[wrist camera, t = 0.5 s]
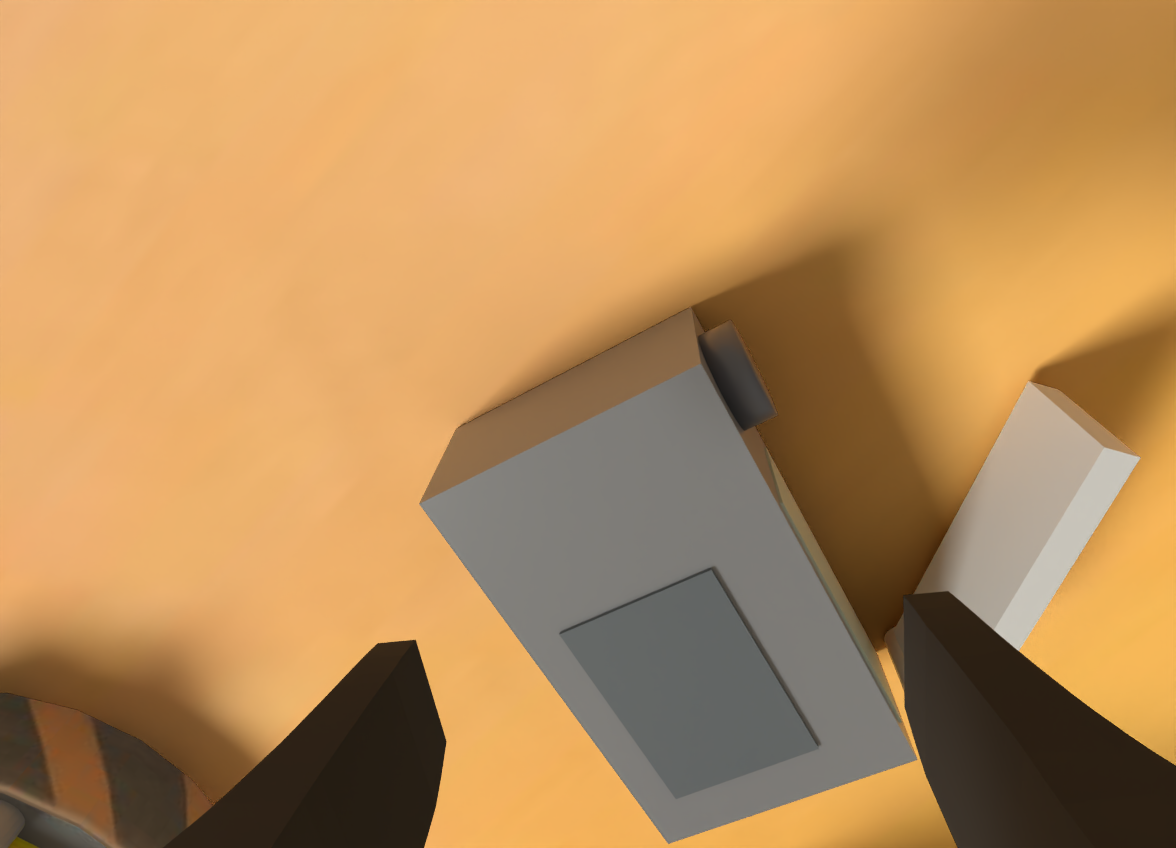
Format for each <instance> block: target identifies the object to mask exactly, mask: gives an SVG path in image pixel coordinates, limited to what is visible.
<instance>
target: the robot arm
mask: <svg viewBox="0 0 1176 848" xmlns="http://www.w3.org/2000/svg"><path fill="white" fill-rule="evenodd" d="M903 603H904V695H905V710H906V713H907V716H908V720H909V723H910V726H911V730H912V733H913V736H914V740H915V743H916V746H917V749H918V753H919V756H920V759H921V762H922V765H923V768H924V771H925V774H926V777H927V779H928V781H929V784H930V786H931V788H932V791H933V793H934V795H935V798H936V800H937V802H938V804H939V807H940V809H941V811H942V814H943V816H944V818H945V820H946V823H947V825H948V827H949V830H950V832H951V834H952V836H953V839H954V841H955V843H956V845H957V848H1176V766H1175V765H1174V764H1172V763H1171V762H1169V761H1167V760H1166V759H1164V758H1163V757H1161V756H1159V755H1158V754H1156V753H1155V752H1153V751H1152V750H1150V749H1149V748H1147V747H1146V746H1144V745H1143V744H1141V743H1140V742H1138V741H1137V740H1135V739H1134V738H1132V737H1131V736H1129V735H1128V734H1126V733H1125V732H1124V731H1122V730H1121V729H1119V728H1118V727H1117V726H1115V725H1114V724H1112V723H1111V722H1109V721H1108V720H1107V719H1105V718H1104V717H1102V716H1101V715H1100V714H1098V713H1097V712H1095V711H1094V710H1093V709H1091V708H1090V707H1089V706H1087V705H1086V704H1085V703H1083V702H1082V701H1081V700H1079V699H1078V698H1077V697H1075V696H1074V695H1073V694H1071V693H1070V692H1069V691H1068V690H1066V689H1065V688H1064V687H1063V686H1061V685H1060V684H1059V683H1058V682H1056V681H1055V680H1054V679H1052V678H1051V677H1050V676H1049V675H1047V674H1046V673H1045V672H1044V671H1042V670H1041V669H1040V668H1039V667H1037V666H1036V665H1035V664H1034V663H1032V662H1031V661H1030V660H1029V659H1028V658H1026V657H1025V656H1024V655H1023V654H1022V653H1020V652H1019V651H1018V650H1017V649H1016V648H1014V647H1013V646H1012V645H1011V644H1010V643H1008V642H1007V641H1006V640H1005V639H1004V638H1003V637H1001V636H1000V635H999V634H998V633H997V632H996V631H994V630H993V629H992V628H991V627H990V626H989V625H987V624H986V623H985V622H984V621H983V620H982V619H981V618H979V617H978V616H977V615H976V614H975V613H974V612H973V611H971V610H970V609H969V608H968V607H967V606H966V605H964V604H963V603H962V602H961V601H960V600H959V599H957V598H956V597H955V596H954V595H953V594H951V593H950V592H949V591H943V592H932V593H921V594H910V595H903ZM445 747H446V739H445V735H444V732H443V729H442V725H441V722H440V719H439V715H438V712H437V709H436V706H435V702H434V699H433V696H432V692H431V689H430V686H429V682H428V679H427V676H426V673H425V669H424V666H423V663H422V659H421V656H420V653H419V649H418V646H417V643H416V640H410V641H399V642H388V643H378V644H377V645H376V646H375V647H373V648H372V649H371V650H370V651H369V652H368V653H367V654H366V655H365V656H364V657H363V658H362V659H361V660H360V661H359V662H358V663H357V664H356V666H355V667H354V668H353V669H352V670H351V671H350V672H349V673H348V674H347V675H346V676H345V677H344V678H343V679H342V680H341V681H340V682H339V683H338V684H337V686H336V687H335V688H334V689H333V690H332V691H331V692H330V693H329V694H328V695H327V696H326V697H325V698H324V699H323V700H322V701H321V702H320V703H319V704H318V705H317V706H316V707H315V708H314V709H313V711H312V712H311V713H310V714H309V715H308V716H307V717H306V718H305V719H304V720H303V721H302V722H301V723H300V724H299V725H298V726H297V727H296V728H295V729H294V730H293V731H292V732H291V733H290V734H289V735H288V736H287V737H286V738H285V739H284V740H283V741H282V742H281V743H280V744H279V745H278V746H277V747H276V748H275V749H274V750H273V751H272V752H271V753H270V754H269V755H267V756H266V757H265V758H264V759H263V760H262V761H261V762H260V763H259V764H258V765H257V766H256V767H255V768H254V769H253V770H252V771H251V772H250V773H248V774H247V775H246V776H245V777H244V778H243V779H242V780H241V781H240V782H239V783H238V784H237V785H236V786H235V787H234V788H233V789H232V790H231V791H229V792H228V793H227V794H226V795H225V796H224V797H223V798H222V799H220V800H219V801H218V802H217V803H216V804H215V805H214V806H212V807H211V808H210V809H209V810H208V811H207V812H205V813H204V814H203V815H202V816H201V817H200V818H198V819H197V820H196V821H195V822H194V823H192V824H191V825H190V826H189V827H187V828H186V829H185V830H184V831H182V832H181V833H180V834H179V835H178V836H176V837H175V838H174V839H173V840H171V841H170V842H169V843H168V844H166V845H165V846H164V847H163V848H424V846H425V842H426V839H427V836H428V832H429V829H430V825H431V822H432V818H433V815H434V811H435V808H436V802H437V797H438V791H439V786H440V780H441V774H442V767H443V761H444V754H445Z"/></svg>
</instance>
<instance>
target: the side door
mask: <svg viewBox="0 0 1176 848" xmlns="http://www.w3.org/2000/svg"><path fill="white" fill-rule="evenodd" d="M1140 458H1141V457H1139V456H1138V455H1137V454H1136V453H1135V452H1133V451H1132V450H1131V449H1130V448H1129V447H1127V446H1126V445H1125V444H1124V443H1123V442H1121V441H1120V440H1119V439H1118V438H1117V437H1115V436H1114V435H1113V434H1112V433H1110V432H1109V431H1108V430H1107V429H1106V428H1104V427H1103V426H1102V425H1101V424H1100V423H1098V422H1097V421H1096V420H1095V419H1094V418H1092V417H1091V416H1090V415H1089V414H1088V413H1086V412H1085V411H1084V410H1083V409H1082V408H1080V407H1079V406H1078V405H1077V404H1076V403H1074V402H1073V401H1072V400H1071V399H1070V398H1068V397H1067V396H1066V395H1065V394H1064V393H1062V392H1061V391H1060V390H1059V389H1055V388H1051V387H1048V386H1044V385H1041V384H1037V383H1034V382H1030V381H1028V383H1027V385H1026V386H1025V388H1024V390H1023V392H1022V394H1021V396H1020V398H1019V399H1018V401H1017V403H1016V405H1015V407H1014V409H1013V410H1012V412H1011V414H1010V416H1009V418H1008V420H1007V422H1006V423H1005V425H1004V427H1003V429H1002V431H1001V433H1000V435H999V436H998V438H997V440H996V442H995V444H994V446H993V448H992V449H991V451H990V453H989V455H988V457H987V459H986V461H985V462H984V464H983V466H982V468H981V470H980V472H979V474H978V475H977V477H976V479H975V481H974V483H973V485H972V486H971V488H970V490H969V492H968V494H967V496H966V498H965V499H964V501H963V503H962V505H961V507H960V509H959V511H958V512H957V514H956V516H955V518H954V520H953V522H952V524H951V525H950V527H949V529H948V531H947V533H946V535H945V537H944V538H943V540H942V542H941V544H940V546H939V548H938V550H937V551H936V553H935V555H934V557H933V559H932V561H931V562H930V564H929V566H928V568H927V570H926V572H925V574H924V575H923V577H922V579H921V581H920V583H919V585H918V587H917V588H916V590H915V592H914V594H921V593H932V592H943V591H949V592H950V593H951V594H953V595H954V596H955V597H956V598H957V599H959V600H960V601H961V602H962V603H963V604H964V605H966V606H967V607H968V608H969V609H970V610H971V611H973V612H974V613H975V614H976V615H977V616H978V617H979V618H981V619H982V620H983V621H984V622H985V623H986V624H987V625H989V626H990V627H991V628H992V629H993V630H994V631H996V632H997V633H998V634H999V635H1000V636H1001V637H1003V638H1004V639H1005V640H1006V641H1007V642H1008V643H1010V644H1011V645H1012V646H1013V647H1014V648H1016V649H1017V650H1018V651H1019V650H1020V648H1021V647H1022V645H1023V644H1024V642H1025V640H1026V639H1027V637H1028V636H1029V634H1030V632H1031V631H1032V629H1033V628H1034V626H1035V624H1036V623H1037V621H1038V620H1039V618H1040V617H1041V615H1042V613H1043V612H1044V610H1045V609H1046V607H1047V605H1048V604H1049V602H1050V601H1051V599H1052V597H1053V596H1054V594H1055V593H1056V591H1057V590H1058V588H1059V586H1060V585H1061V583H1062V582H1063V580H1064V578H1065V577H1066V575H1067V574H1068V572H1069V570H1070V569H1071V567H1072V566H1073V564H1074V563H1075V561H1076V559H1077V558H1078V556H1079V555H1080V553H1081V551H1082V550H1083V548H1084V547H1085V545H1086V543H1087V542H1088V540H1089V539H1090V537H1091V536H1092V534H1093V532H1094V531H1095V529H1096V528H1097V526H1098V524H1099V523H1100V521H1101V520H1102V518H1103V516H1104V515H1105V513H1106V512H1107V510H1108V509H1109V507H1110V505H1111V504H1112V502H1113V501H1114V499H1115V497H1116V496H1117V494H1118V493H1119V491H1120V489H1121V488H1122V486H1123V485H1124V483H1125V481H1126V480H1127V478H1128V477H1129V475H1130V474H1131V472H1132V470H1133V469H1134V467H1135V466H1136V464H1137V462H1138V461H1139V459H1140ZM884 642H885V644H886V647H887V649H888V652H889V654H890V657H891V659H892V662H893V664H894V667H895V669H896V672H897V674H898V677H899V679H900V682H901V684H902V687H903V689H904V613H903V614H902V616H901V618H900V620H899V622H898V624H897V626H896V627H894V628H892V629H890V630H889V631H888V632H887V633H886V635H885V637H884Z"/></svg>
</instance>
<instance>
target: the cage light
mask: <svg viewBox="0 0 1176 848" xmlns="http://www.w3.org/2000/svg"><path fill="white" fill-rule="evenodd" d="M211 807H212V805H211V803H210V802H209V801H208V799H207V798H206V797H205V795H204V794H203V793H202V792H201V790H200V789H199V788H198V786H197V785H196V784H195V782H194V781H193V780H191V779H190V778H189V777H187V776H186V775H185V774H184V773H182V772H181V771H180V770H178V769H177V768H176V767H175V766H173V765H172V764H171V763H169V762H168V761H167V760H166V759H164V758H163V757H162V756H160V755H159V754H158V753H157V752H155V751H154V750H153V749H151V748H150V747H149V746H148V745H146V744H145V743H144V742H142V741H141V740H139V739H137V738H135V737H133V736H131V735H129V734H126V733H124V732H122V731H120V730H118V729H116V728H114V727H112V726H110V725H108V724H105V723H103V722H101V721H99V720H97V719H95V718H93V717H91V716H89V715H87V714H84V713H82V712H80V711H78V710H76V709H71V708H67V707H63V706H59V705H55V704H51V703H46V702H42V701H38V700H34V699H30V698H25V697H21V696H17V695H13V694H9V693H0V848H163V847H164V846H165V845H166V844H168V843H169V842H170V841H171V840H173V839H174V838H175V837H176V836H178V835H179V834H180V833H181V832H182V831H184V830H185V829H186V828H187V827H189V826H190V825H191V824H192V823H194V822H195V821H196V820H197V819H198V818H200V817H201V816H202V815H203V814H204V813H205V812H207V811H208V810H209V809H210V808H211Z"/></svg>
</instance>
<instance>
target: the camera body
mask: <svg viewBox="0 0 1176 848" xmlns="http://www.w3.org/2000/svg"><path fill="white" fill-rule="evenodd" d="M776 416H778V413H777V410H776V407H775V405H774V402H773V400H772V398H771V396H770V393H769V391H768V389H767V387H766V385H765V382H764V380H763V378H762V376H761V374H760V372H759V370H758V368H757V366H756V364H755V362H754V360H753V358H752V356H751V354H750V352H749V350H748V348H747V346H746V344H745V343H744V341H743V339H742V337H741V335H740V333H739V332H738V330H737V328H736V327H735V325H734V323H733V322H732V320H729V321H727V322H725V323H723V324H721V325H719V326H717V327H715V328H713V329H711V330H709V331H707V332H704V330H703V328H702V326H701V325H700V323H699V321H698V319H697V317H696V315H695V313H694V312H693V310H692V308H691V307H690V308H688V309H686V310H684V311H682V312H680V313H678V314H676V315H674V316H672V317H670V318H669V319H667V320H665V321H663V322H661V323H659V324H657V325H655V326H653V327H651V328H649V329H647V330H645V331H644V332H642V333H640V334H638V335H636V336H634V337H632V338H630V339H628V340H626V341H624V342H622V343H620V344H619V345H617V346H615V347H613V348H611V349H609V350H607V351H605V352H603V353H601V354H599V355H597V356H595V357H593V358H592V359H590V360H588V361H586V362H584V363H582V364H580V365H578V366H576V367H574V368H572V369H570V370H568V371H567V372H565V373H563V374H561V375H559V376H557V377H555V378H553V379H551V380H549V381H547V382H545V383H543V384H542V385H540V386H538V387H536V388H534V389H532V390H530V391H528V392H526V393H524V394H522V395H520V396H518V397H517V398H515V399H513V400H511V401H509V402H507V403H505V404H503V405H501V406H499V407H497V408H495V409H493V410H492V411H490V412H488V413H486V414H484V415H482V416H480V417H478V418H476V419H474V420H472V421H470V422H468V423H467V424H465V425H463V426H461V427H459V428H457V429H456V430H455V432H454V434H453V436H452V438H451V440H450V442H449V445H448V447H447V449H446V451H445V453H444V455H443V457H442V459H441V461H440V463H439V465H438V467H437V469H436V471H435V473H434V475H433V477H432V479H431V481H430V483H429V485H428V487H427V489H426V491H425V493H424V495H423V497H422V499H421V501H420V503H419V504H420V506H421V507H422V508H423V510H424V511H425V512H426V514H427V515H428V516H429V518H430V519H431V521H432V522H433V523H434V525H435V526H436V527H437V529H438V530H439V531H440V533H441V534H442V536H443V537H444V538H445V540H446V541H447V542H448V544H449V545H450V547H451V548H452V549H453V551H454V552H455V553H456V555H457V556H458V557H459V559H460V560H461V562H462V563H463V564H464V566H465V567H466V568H467V570H468V571H469V572H470V574H471V575H472V577H473V578H474V579H475V581H476V582H477V583H478V585H479V586H480V587H481V589H482V590H483V592H484V593H485V594H486V596H487V597H488V598H489V600H490V601H491V602H492V604H493V605H494V607H495V608H496V609H497V611H498V612H499V613H500V615H501V616H502V617H503V619H504V620H505V622H506V623H507V624H508V626H509V627H510V628H511V630H512V631H513V632H514V634H515V635H516V637H517V638H518V639H519V641H520V642H521V643H522V645H523V646H524V648H525V649H526V650H527V652H528V653H529V654H530V656H531V657H532V658H533V660H534V661H535V663H536V664H537V665H538V667H539V668H540V669H541V671H542V672H543V673H544V675H545V676H546V678H547V679H548V680H549V682H550V683H551V684H552V686H553V687H554V688H555V690H556V691H557V693H558V694H559V695H560V697H561V698H562V699H563V701H564V702H565V703H566V705H567V706H568V708H569V709H570V710H571V712H572V713H573V714H574V716H575V717H576V718H577V720H578V721H579V723H580V724H581V725H582V727H583V728H584V729H585V731H586V732H587V733H588V735H589V736H590V738H591V739H592V740H593V742H594V743H595V744H596V746H597V747H598V748H599V750H600V751H601V753H602V754H603V755H604V757H605V758H606V759H607V761H608V762H609V764H610V765H611V766H612V768H613V769H614V770H615V772H616V773H617V774H618V776H619V777H620V779H621V780H622V781H623V783H624V784H625V785H626V787H627V788H628V789H629V791H630V792H631V794H632V795H633V796H634V798H635V799H636V800H637V802H638V803H639V804H640V806H641V807H642V809H643V810H644V811H645V813H646V814H647V815H648V817H649V818H650V819H651V821H652V822H653V824H654V825H655V826H656V828H657V829H658V830H659V832H660V833H661V834H662V836H663V837H664V839H665V840H666V841H667V843H668V844H669V843H672V842H675V841H678V840H681V839H684V838H687V837H690V836H693V835H696V834H699V833H702V832H705V831H708V830H711V829H714V828H717V827H720V826H723V825H726V824H728V823H731V822H734V821H737V820H740V819H743V818H746V817H749V816H752V815H755V814H758V813H761V812H764V811H767V810H770V809H773V808H776V807H779V806H782V805H785V804H788V803H791V802H794V801H797V800H800V799H803V798H806V797H808V796H811V795H814V794H817V793H820V792H823V791H826V790H829V789H832V788H835V787H838V786H841V785H844V784H847V783H850V782H853V781H856V780H859V779H862V778H865V777H868V776H871V775H874V774H877V773H880V772H883V771H886V770H888V769H891V768H894V767H897V766H900V765H903V764H906V763H909V762H912V761H915V760H917V757H916V755H915V752H914V749H913V747H912V744H911V741H910V739H909V736H908V734H907V731H906V728H905V726H904V723H903V720H902V718H901V715H900V713H899V710H898V707H897V705H896V702H895V699H894V697H893V694H892V692H891V689H890V686H889V684H888V681H887V678H886V676H885V673H884V671H883V668H882V665H881V663H880V660H879V658H878V655H877V653H876V651H875V649H874V647H873V645H872V643H871V641H870V640H869V638H868V636H867V634H866V632H865V630H864V628H863V626H862V625H861V623H860V621H859V619H858V617H857V615H856V613H855V612H854V610H853V608H852V606H851V604H850V602H849V600H848V599H847V597H846V595H845V593H844V591H843V589H842V587H841V585H840V584H839V582H838V580H837V578H836V576H835V574H834V572H833V571H832V569H831V567H830V565H829V563H828V561H827V559H826V558H825V556H824V554H823V552H822V550H821V548H820V546H819V544H818V543H817V541H816V539H815V537H814V535H813V533H812V531H811V530H810V528H809V526H808V524H807V522H806V520H805V518H804V517H803V515H802V513H801V511H800V509H799V507H798V505H797V503H796V502H795V500H794V498H793V496H792V494H791V492H790V490H789V489H788V487H787V485H786V483H785V481H784V479H783V477H782V476H781V474H780V472H779V470H778V468H777V466H776V464H775V462H774V461H773V459H772V457H771V455H770V453H769V451H768V449H767V448H766V446H765V444H764V442H763V440H762V438H761V436H760V435H759V433H758V431H757V429H756V427H755V426H756V425H759V424H761V423H763V422H765V421H767V420H769V419H771V418H773V417H776Z"/></svg>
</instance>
